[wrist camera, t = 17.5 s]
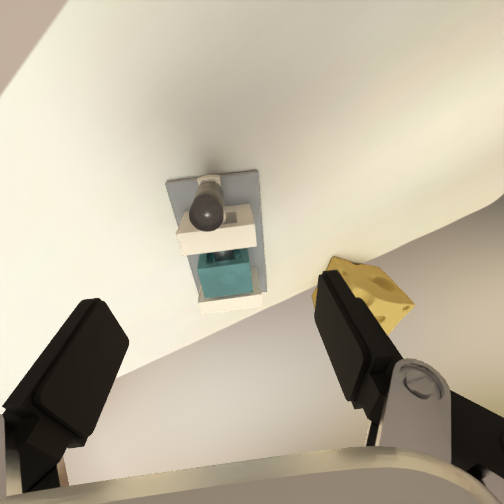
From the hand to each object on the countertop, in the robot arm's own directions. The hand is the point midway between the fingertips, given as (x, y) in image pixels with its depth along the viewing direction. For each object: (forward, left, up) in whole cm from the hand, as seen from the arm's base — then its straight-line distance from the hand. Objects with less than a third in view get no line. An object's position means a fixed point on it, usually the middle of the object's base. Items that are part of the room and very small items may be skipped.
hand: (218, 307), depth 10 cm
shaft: (+8, -1, -20) cm, 21 cm away
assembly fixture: (+10, -1, -24) cm, 26 cm away
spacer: (+11, -1, -22) cm, 25 cm away
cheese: (+22, +20, -24) cm, 38 cm away
